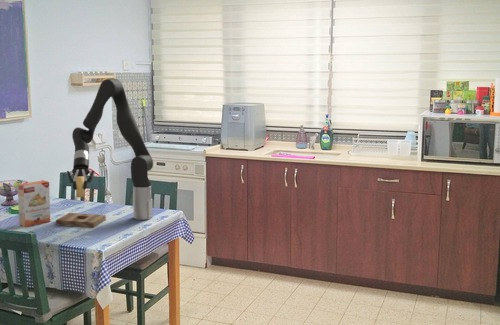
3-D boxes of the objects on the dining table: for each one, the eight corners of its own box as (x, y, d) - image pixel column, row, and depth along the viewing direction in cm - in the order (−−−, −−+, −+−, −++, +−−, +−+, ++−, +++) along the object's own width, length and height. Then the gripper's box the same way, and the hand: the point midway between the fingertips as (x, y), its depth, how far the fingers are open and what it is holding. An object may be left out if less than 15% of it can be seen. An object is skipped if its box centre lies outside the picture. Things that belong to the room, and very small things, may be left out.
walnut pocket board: (105, 219, 285) (105, 215, 284) (94, 227, 271) (94, 222, 271) (69, 217, 288) (68, 212, 287) (55, 224, 274) (55, 220, 274)
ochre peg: (86, 195, 279) (85, 176, 277) (82, 197, 275) (81, 178, 273) (78, 195, 279) (77, 176, 278) (74, 197, 276) (74, 177, 274)
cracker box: (25, 227, 268) (23, 185, 265) (18, 225, 272) (16, 183, 268) (51, 221, 279) (49, 181, 276) (44, 219, 283) (42, 179, 279)
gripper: (66, 156, 280) (64, 185, 270) (95, 156, 282) (94, 184, 273) (67, 165, 286) (65, 193, 276) (96, 164, 289) (95, 192, 279)
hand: (79, 188), depth 275 cm, fingers closed on ochre peg, 4 cm apart
